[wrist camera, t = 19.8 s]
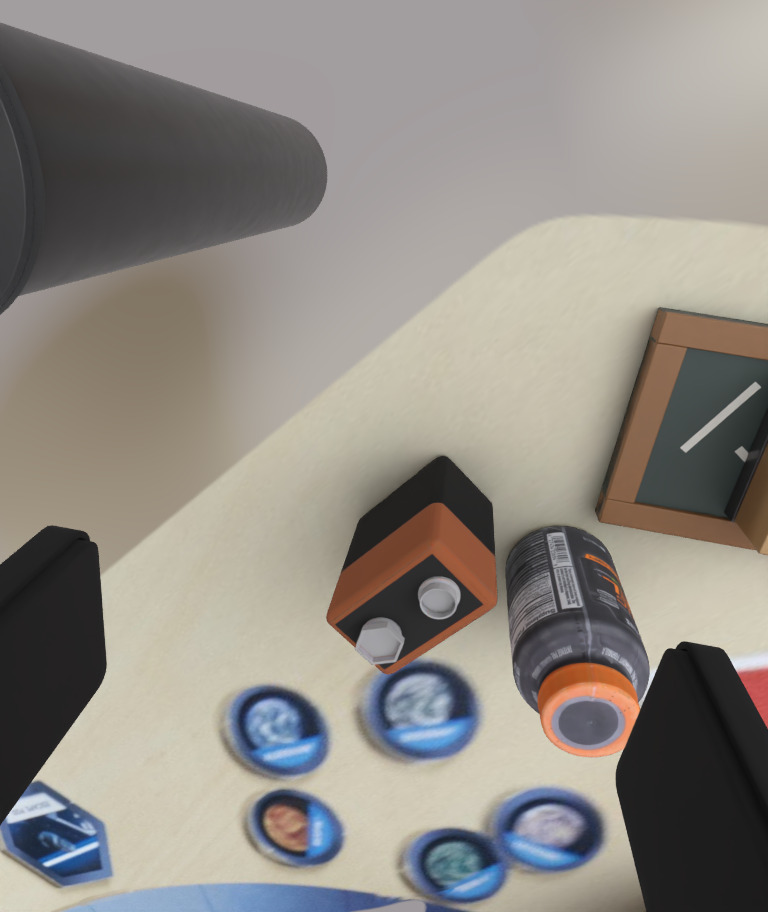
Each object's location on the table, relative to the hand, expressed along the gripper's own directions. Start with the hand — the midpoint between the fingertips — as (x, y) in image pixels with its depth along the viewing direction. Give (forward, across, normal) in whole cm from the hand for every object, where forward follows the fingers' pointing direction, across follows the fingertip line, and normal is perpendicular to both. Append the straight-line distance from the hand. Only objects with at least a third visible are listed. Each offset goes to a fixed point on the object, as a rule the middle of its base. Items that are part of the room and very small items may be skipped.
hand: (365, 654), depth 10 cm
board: (+23, -18, +2) cm, 29 cm away
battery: (+23, -1, +10) cm, 25 cm away
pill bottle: (+23, -9, +12) cm, 28 cm away
